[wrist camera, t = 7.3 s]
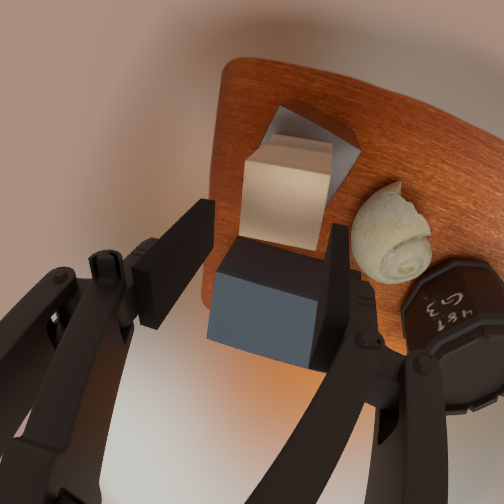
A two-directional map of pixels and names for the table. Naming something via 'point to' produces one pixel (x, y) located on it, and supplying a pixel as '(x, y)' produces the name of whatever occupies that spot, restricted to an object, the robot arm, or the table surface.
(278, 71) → the table surface
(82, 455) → the robot arm
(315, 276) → the chest
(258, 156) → the block
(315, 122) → the plinth
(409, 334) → the octagonal dark pot
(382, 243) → the seashell
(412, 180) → the table surface
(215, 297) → the lid
